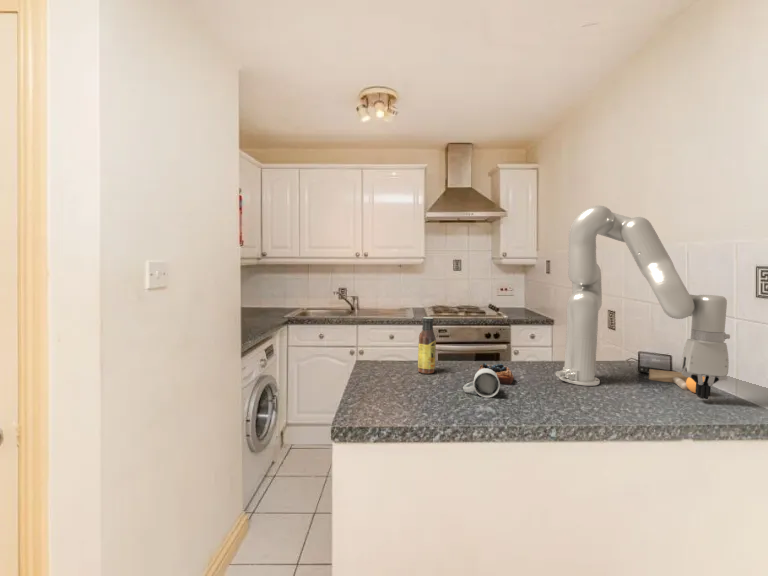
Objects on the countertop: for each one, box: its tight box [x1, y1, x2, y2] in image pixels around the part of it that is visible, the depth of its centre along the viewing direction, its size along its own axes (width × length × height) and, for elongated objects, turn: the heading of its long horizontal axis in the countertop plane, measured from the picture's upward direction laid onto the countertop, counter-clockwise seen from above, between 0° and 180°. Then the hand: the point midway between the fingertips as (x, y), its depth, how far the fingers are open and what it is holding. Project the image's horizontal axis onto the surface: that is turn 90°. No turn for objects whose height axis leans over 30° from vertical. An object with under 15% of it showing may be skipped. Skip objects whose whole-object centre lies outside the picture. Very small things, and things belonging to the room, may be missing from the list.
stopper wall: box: [648, 368, 688, 384], centre depth 134 cm, size 2×14×4 cm, turn 71°
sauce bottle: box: [417, 316, 437, 375], centre depth 137 cm, size 7×6×20 cm
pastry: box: [477, 362, 515, 386], centre depth 131 cm, size 11×12×6 cm
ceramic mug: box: [462, 368, 501, 399], centre depth 116 cm, size 11×8×8 cm
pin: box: [672, 377, 690, 391], centre depth 129 cm, size 2×2×8 cm
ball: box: [686, 375, 705, 394], centre depth 122 cm, size 6×6×6 cm
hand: (702, 397), depth 113 cm, fingers closed
